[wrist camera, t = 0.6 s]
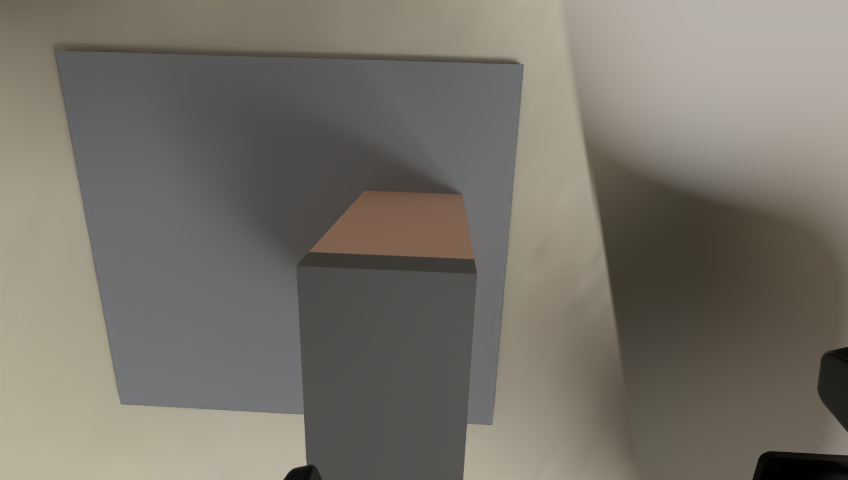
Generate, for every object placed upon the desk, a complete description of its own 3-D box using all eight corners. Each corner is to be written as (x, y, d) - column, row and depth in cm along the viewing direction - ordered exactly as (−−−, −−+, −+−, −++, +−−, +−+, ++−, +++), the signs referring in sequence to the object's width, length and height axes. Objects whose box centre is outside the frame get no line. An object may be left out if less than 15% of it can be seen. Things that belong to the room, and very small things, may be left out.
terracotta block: (462, 194, 19) (477, 274, 10) (455, 327, 20) (461, 492, 12) (364, 190, 19) (295, 266, 10) (365, 323, 21) (307, 483, 12)
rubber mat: (522, 65, 18) (523, 64, 17) (491, 419, 22) (492, 425, 22) (62, 51, 18) (54, 50, 18) (126, 399, 23) (120, 404, 22)
